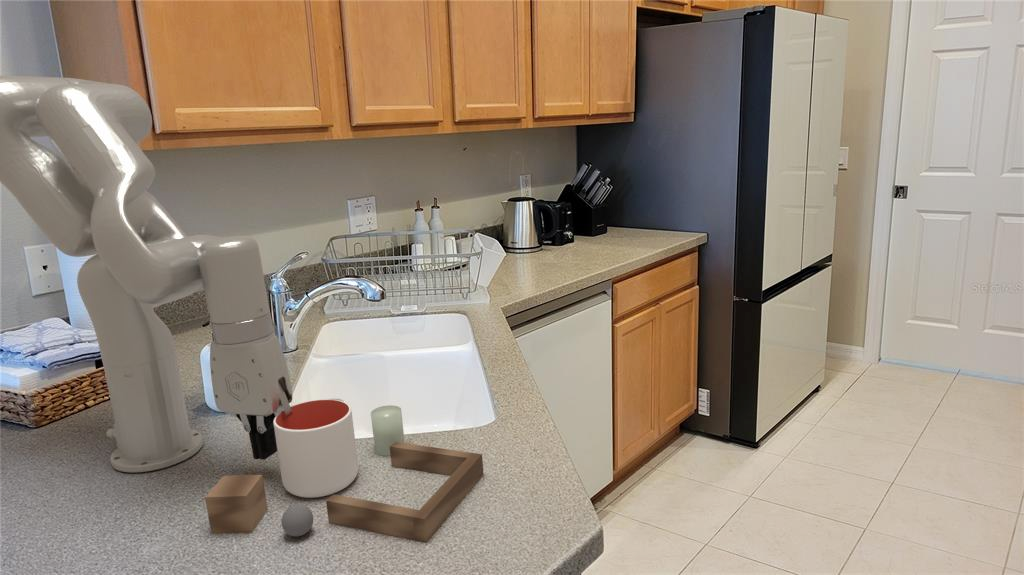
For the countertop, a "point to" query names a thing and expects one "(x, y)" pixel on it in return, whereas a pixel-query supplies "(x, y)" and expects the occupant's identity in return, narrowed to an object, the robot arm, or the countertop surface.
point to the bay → (408, 520)
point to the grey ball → (297, 520)
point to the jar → (386, 428)
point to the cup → (316, 448)
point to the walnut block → (236, 504)
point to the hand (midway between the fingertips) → (266, 454)
